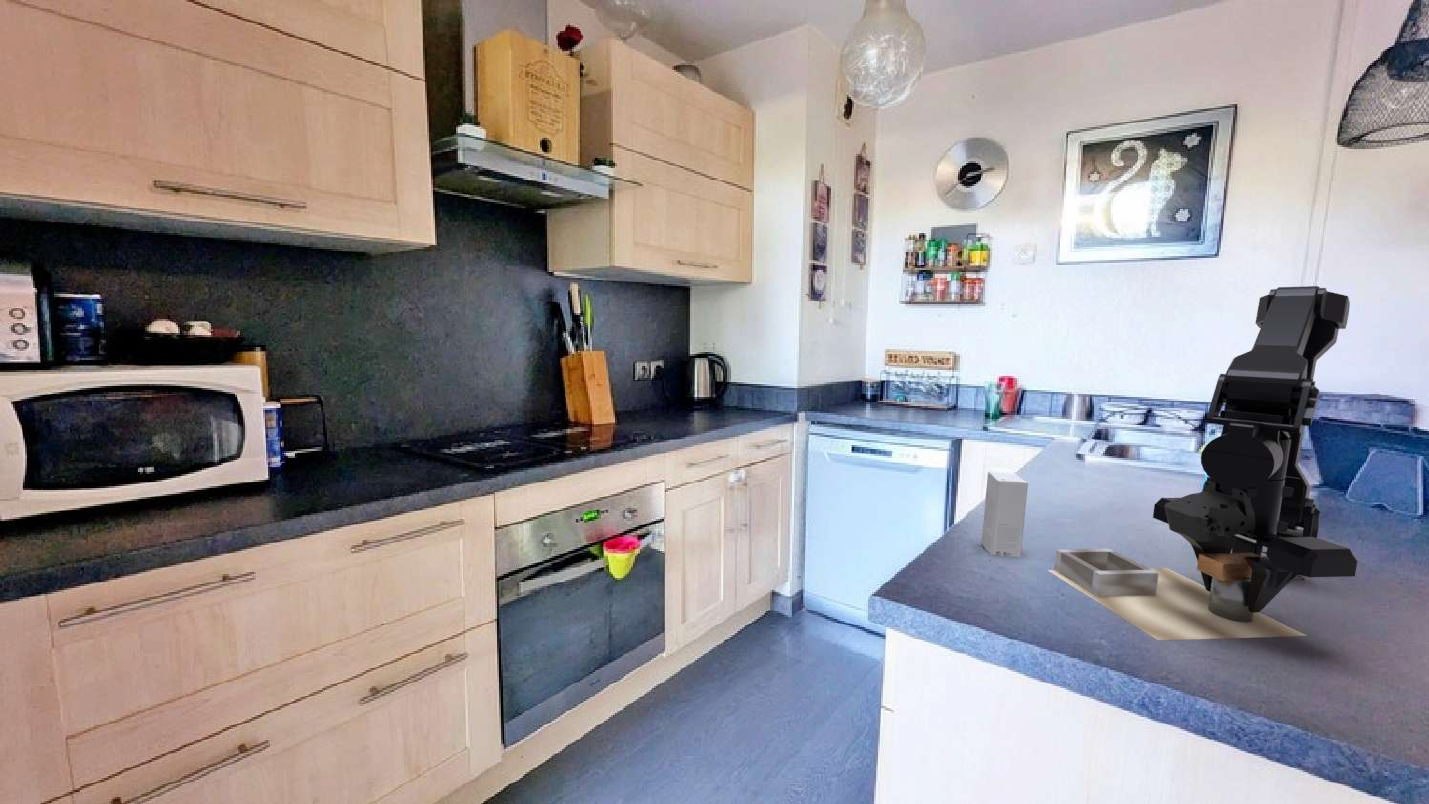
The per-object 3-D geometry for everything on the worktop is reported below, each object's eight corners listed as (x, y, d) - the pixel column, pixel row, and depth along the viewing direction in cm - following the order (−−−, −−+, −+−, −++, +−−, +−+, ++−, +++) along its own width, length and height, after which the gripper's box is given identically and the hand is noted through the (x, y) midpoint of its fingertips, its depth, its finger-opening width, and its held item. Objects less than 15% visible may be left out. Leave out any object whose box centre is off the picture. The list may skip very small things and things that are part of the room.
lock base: (1165, 571, 81) (1168, 547, 81) (1305, 640, 64) (1310, 610, 63) (1047, 574, 80) (1049, 549, 79) (1157, 645, 62) (1161, 614, 61)
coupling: (1239, 605, 70) (1247, 551, 69) (1274, 621, 66) (1283, 564, 66) (1187, 606, 70) (1195, 552, 69) (1219, 623, 66) (1227, 565, 65)
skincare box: (1021, 561, 84) (1029, 482, 82) (990, 558, 85) (997, 480, 83) (1009, 546, 90) (1015, 472, 88) (980, 543, 91) (986, 470, 89)
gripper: (1121, 456, 74) (1108, 569, 76) (1273, 499, 56) (1250, 647, 58) (1199, 455, 75) (1184, 567, 77) (1373, 498, 57) (1347, 643, 59)
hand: (1231, 601), depth 68 cm, fingers open, 5 cm apart
